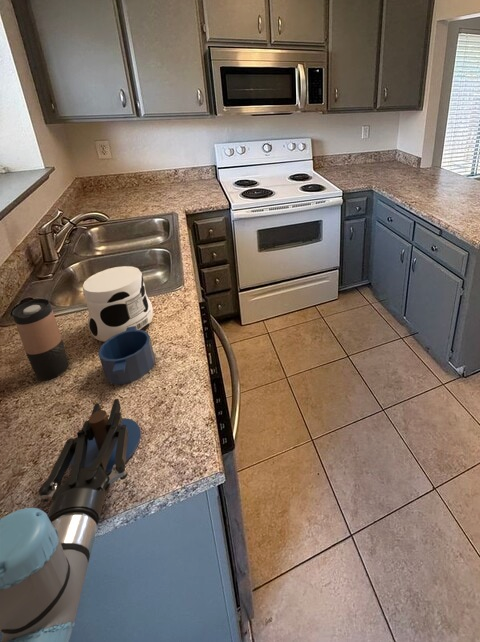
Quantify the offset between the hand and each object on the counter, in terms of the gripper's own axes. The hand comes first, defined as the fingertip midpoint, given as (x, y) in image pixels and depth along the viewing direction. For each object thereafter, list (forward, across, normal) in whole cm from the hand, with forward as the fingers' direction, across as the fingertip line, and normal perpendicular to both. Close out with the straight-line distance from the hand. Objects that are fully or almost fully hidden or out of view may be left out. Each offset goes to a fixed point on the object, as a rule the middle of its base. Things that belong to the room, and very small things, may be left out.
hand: (108, 406), depth 77 cm
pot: (+18, 0, -7) cm, 20 cm away
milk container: (+37, -5, -7) cm, 38 cm away
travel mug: (+24, -20, -7) cm, 32 cm away
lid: (-5, 0, -5) cm, 8 cm away
